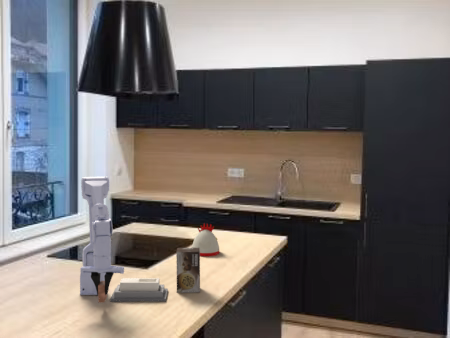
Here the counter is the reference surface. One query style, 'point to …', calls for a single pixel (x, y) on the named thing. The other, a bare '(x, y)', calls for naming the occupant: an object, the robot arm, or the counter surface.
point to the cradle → (139, 295)
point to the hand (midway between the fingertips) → (102, 293)
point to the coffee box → (188, 270)
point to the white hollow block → (139, 284)
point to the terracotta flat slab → (101, 292)
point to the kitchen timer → (206, 242)
